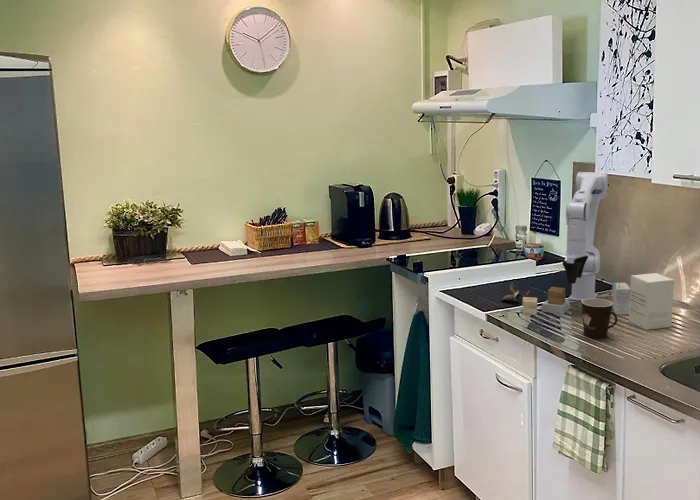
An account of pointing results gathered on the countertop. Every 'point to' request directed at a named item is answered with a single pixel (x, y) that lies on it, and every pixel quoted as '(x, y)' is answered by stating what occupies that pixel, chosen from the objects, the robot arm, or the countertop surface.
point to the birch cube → (529, 306)
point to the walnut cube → (556, 295)
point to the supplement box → (651, 301)
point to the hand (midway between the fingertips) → (574, 280)
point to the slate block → (556, 307)
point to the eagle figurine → (515, 294)
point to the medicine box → (621, 298)
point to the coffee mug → (597, 317)
